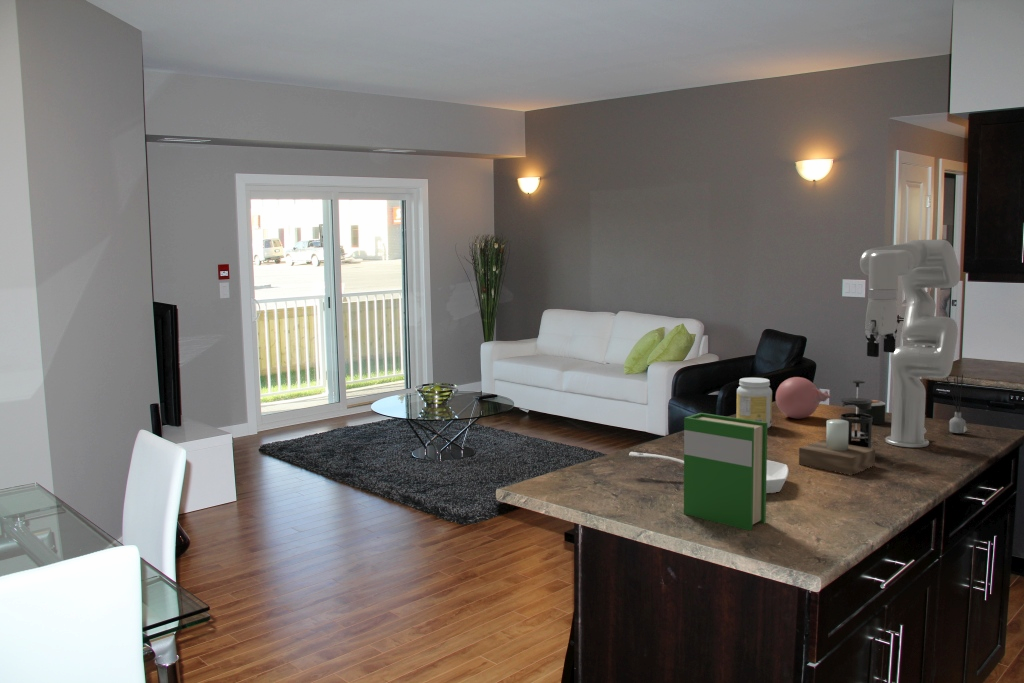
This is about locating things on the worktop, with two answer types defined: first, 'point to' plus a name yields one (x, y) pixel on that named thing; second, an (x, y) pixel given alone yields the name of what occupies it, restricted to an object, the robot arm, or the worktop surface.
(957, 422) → the reed diffuser
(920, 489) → the worktop surface
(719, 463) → the hardback book
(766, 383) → the supplement tub
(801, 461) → the brown wooden block
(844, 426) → the white rounded capsule
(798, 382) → the balloon
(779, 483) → the pan
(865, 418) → the french press
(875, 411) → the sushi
